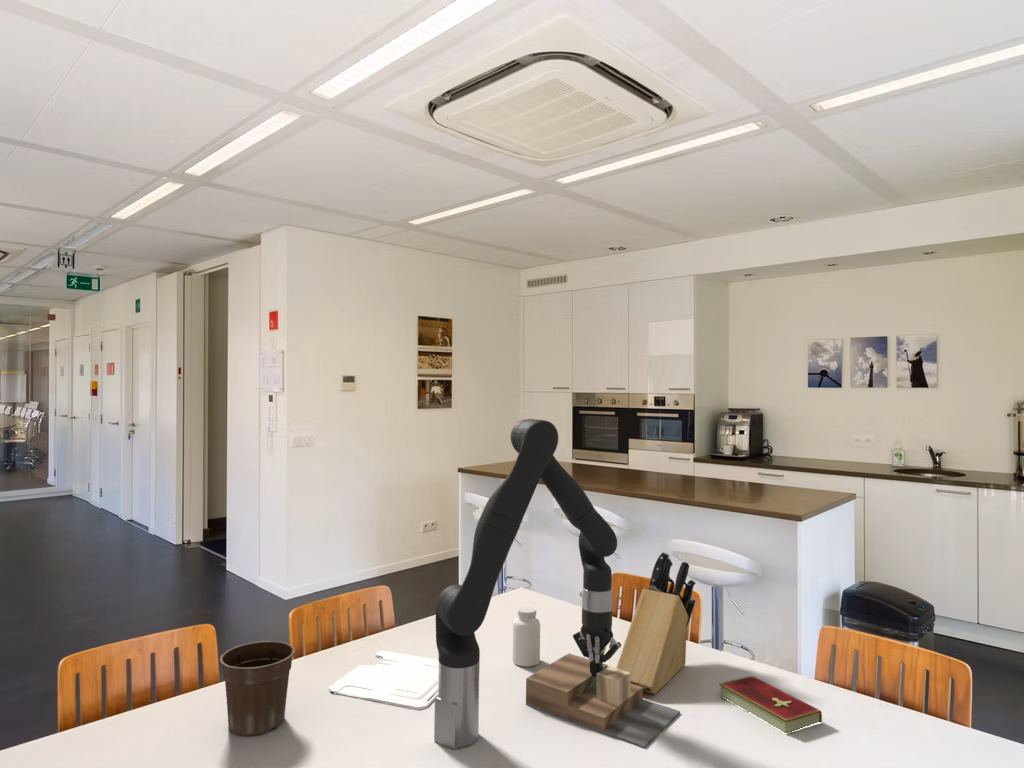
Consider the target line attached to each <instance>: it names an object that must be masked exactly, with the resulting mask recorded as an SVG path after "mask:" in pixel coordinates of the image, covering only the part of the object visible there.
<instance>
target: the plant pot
mask: <svg viewBox="0 0 1024 768" xmlns="http://www.w3.org/2000/svg"><path fill="white" fill-rule="evenodd" d="M295 650H296V649H295V647H294V646H293V645H292V644H290V643H288V642H285V641H276V640H262V641H254V642H249V643H244V644H240V645H237V646H234V647H232V648H230V649H228V650H227V651H225V652H224V653H223V654H221V655H220V656H219V657H220V658H219V662H220V664H221V665H222V668H221V669H222V676H223V677H222V678H223V679H224V682H225V683H224V684H225V696H226V707H227V708H226V709H227V724H228V729H229V730H228V731H230V732H232V731H233V733H234V734H236V735H238V736H243V737H245V736H246V737H251V736H250V735H252V736H258V735H262V734H265V733H268V732H270V731H271V730H272V729H273V728H274V729H277V728H278V727H280V726H282V724H283V722H284V721H285V717H286V705H287V697H288V696H287V695H288V688H289V681H290V680H289V677H290V671H291V669H292V663H293V657H294V654H295Z"/></svg>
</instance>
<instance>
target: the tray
mask: <svg viewBox="0 0 1024 768" xmlns="http://www.w3.org/2000/svg"><path fill="white" fill-rule="evenodd" d="M374 655H375V657H376V658H379V657H381V658H380V659H382V660H381V661H380V663H381V662H382V663H386V664H391V665H383V664H380V663H378V664H375V663H374V664H373V665H365V664H359V665H357V666H356V667H355V668H353V669H352V670H350V671H349V672H348V673H346V674H345V675H344V676H343V677H341V678H340V679H338V680H337V681H335V682H334V683H332V684H331V685H330V686H328V691H329V690H330V692H333V694H334V693H336V694H335V695H338V694H340V696H344V695H346V697H349V696H351V697H350V698H354V697H356V698H355V699H359V698H361V699H360V700H364V699H366V701H371V702H375V701H376V702H375V703H380V702H382V703H381V704H385V703H387V704H386V705H390V704H391V705H390V706H396V707H401V708H406V709H411V708H412V710H416V709H417V711H419V710H424V709H427V708H428V707H429V706H430V705H432V703H433V702H435V698H436V697H438V671H439V658H438V659H436V658H432V657H431V658H429V657H424V656H419V655H412V654H407V653H400V652H394V651H388V650H387V651H386V650H380V651H377V652H376V653H375V654H374ZM433 695H434V696H433ZM432 696H433V697H432ZM431 697H432V698H431ZM430 698H431V699H430ZM429 699H430V700H429ZM428 700H429V701H428ZM423 708H424V709H423Z"/></svg>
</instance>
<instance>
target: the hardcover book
mask: <svg viewBox="0 0 1024 768" xmlns="http://www.w3.org/2000/svg"><path fill="white" fill-rule="evenodd" d="M718 685H719V686H720V687H721V690H720V692H721V693H720V697H721V696H722V697H724V698H726V699H728V700H729V701H731V702H733V703H734V704H736V705H738V706H740V707H741V708H743V709H745V710H747V711H748V712H751V713H752V714H754V715H756V716H757V717H759V718H761V719H763V720H764V721H766V722H768V723H769V724H771V725H773V726H774V727H776V728H778V729H780V730H781V731H783V732H784V733H789V732H792V731H795V730H798V729H800V728H803V727H805V726H809V725H811V724H814V723H817V722H823V714H822V710H821V709H818V708H816V707H815V706H812V705H810V704H809V703H807V702H805V701H804V700H803V701H802V700H800V699H799V698H797V697H795V696H793V695H791V694H789V693H787V692H785V691H783V690H781V689H779V688H777V687H775V686H774V685H771V684H770V683H767V682H765V681H763V680H762V679H759V678H757V677H756V676H753V675H748V676H745V677H740V678H736V679H732V680H727V681H724V682H719V683H718Z"/></svg>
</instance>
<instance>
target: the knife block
mask: <svg viewBox="0 0 1024 768" xmlns="http://www.w3.org/2000/svg"><path fill="white" fill-rule="evenodd" d="M669 557H670V554H669V553H667V552H665V551H662V552H661V553H660V555H659V556H658V558H656V561H655V563H654V566H653V570H652V573H651V576H650V580H649V583H648V585H647V588H642V590H641V593H640V596H639V598H638V602H637V605H636V607H635V611H634V614H633V616H632V619H631V623H630V625H629V627H628V628H629V629H628V631H627V634H626V636H625V637H626V638H625V640H624V643H623V646H622V649H621V653H620V656H619V658H618V662H617V664H616V667H615V668H617V669H620V670H623V671H627V672H630V673H631V679H630V683H631V684H634V685H637V686H640V687H643V692H647V693H650V694H657V692H659V691H660V690H661V689H662V688H663V687H664V686H665V685H666V684H667V683H669V681H670V680H671V679H672V677H673V676H675V674H677V673H678V672H679V671H680V670H681V669H682V668H683V667H684V666H685V665H686V659H687V658H686V657H687V655H686V653H687V633H688V632H687V631H688V630H687V628H688V626H689V623H690V620H691V618H692V615H693V611H694V608H695V606H696V599H692V595H693V591H694V586H695V585H696V581H694V580H693V579H690V580H689V581H688V582H686V581H687V577H688V574H689V569H690V564H689V563H688V562H686V561H685V562H684V561H683V562H681V564H680V565H679V569H678V571H677V574H676V578H675V582H674V580H673V579H672V578H671V577H670V571H671V568H672V566H673V562H672V560H671V558H669ZM669 584H670V585H669ZM668 587H669V588H668ZM683 588H684V589H683ZM682 589H683V594H682V595H681V592H682Z"/></svg>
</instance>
